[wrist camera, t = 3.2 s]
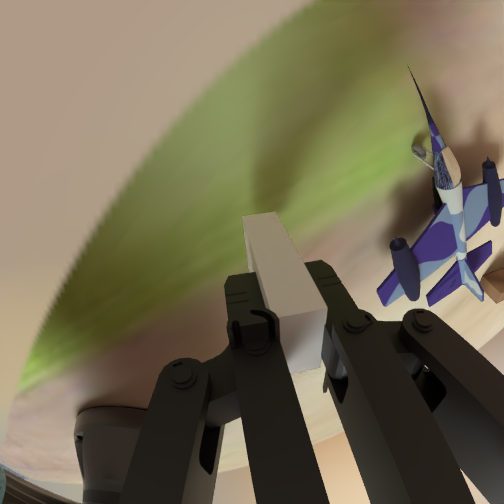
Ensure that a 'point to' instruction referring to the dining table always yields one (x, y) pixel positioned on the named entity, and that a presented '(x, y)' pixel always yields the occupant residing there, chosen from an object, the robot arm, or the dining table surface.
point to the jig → (494, 285)
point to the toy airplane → (446, 228)
